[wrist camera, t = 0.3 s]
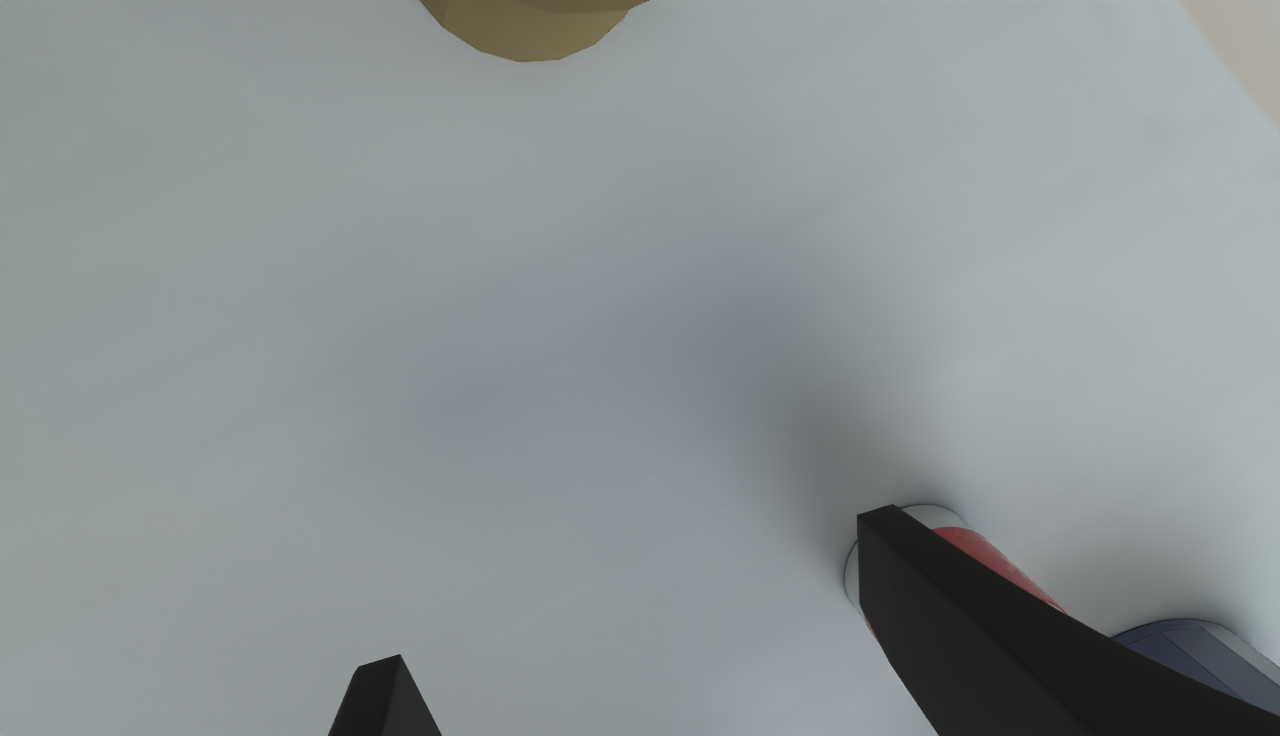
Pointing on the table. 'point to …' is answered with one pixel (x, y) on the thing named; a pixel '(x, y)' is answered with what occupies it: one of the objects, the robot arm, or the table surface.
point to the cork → (529, 24)
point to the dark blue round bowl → (1210, 658)
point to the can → (961, 537)
